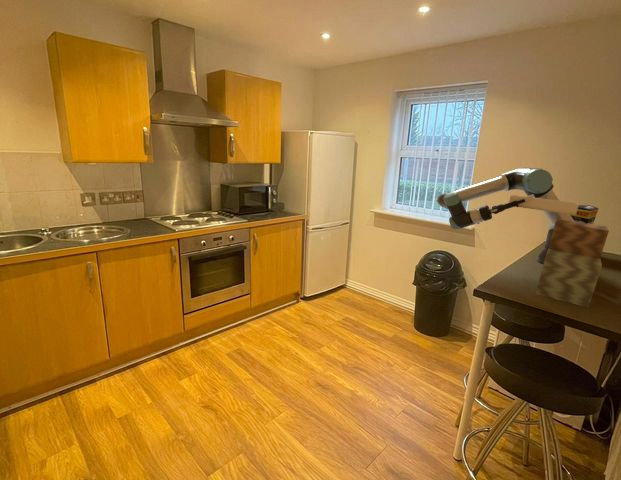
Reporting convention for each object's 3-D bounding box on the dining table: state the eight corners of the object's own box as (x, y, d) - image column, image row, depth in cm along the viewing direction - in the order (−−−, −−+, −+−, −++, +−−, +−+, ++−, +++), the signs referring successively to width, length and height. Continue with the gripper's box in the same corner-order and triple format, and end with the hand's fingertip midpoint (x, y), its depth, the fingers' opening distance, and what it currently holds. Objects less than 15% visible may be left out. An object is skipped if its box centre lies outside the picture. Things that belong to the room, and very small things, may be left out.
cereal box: (575, 260, 204) (592, 208, 195) (553, 254, 212) (569, 205, 203) (583, 254, 221) (600, 206, 212) (563, 249, 229) (578, 203, 220)
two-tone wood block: (535, 293, 144) (553, 226, 136) (540, 278, 164) (556, 219, 156) (588, 307, 133) (611, 235, 126) (586, 289, 153) (606, 226, 146)
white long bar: (508, 205, 160) (510, 195, 159) (509, 204, 163) (511, 194, 162) (575, 215, 145) (579, 203, 144) (575, 214, 148) (578, 202, 147)
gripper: (487, 219, 176) (538, 203, 161) (480, 223, 163) (535, 206, 148) (482, 206, 176) (532, 188, 162) (474, 208, 163) (528, 190, 148)
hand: (533, 197), depth 155 cm, fingers closed on white long bar, 4 cm apart
